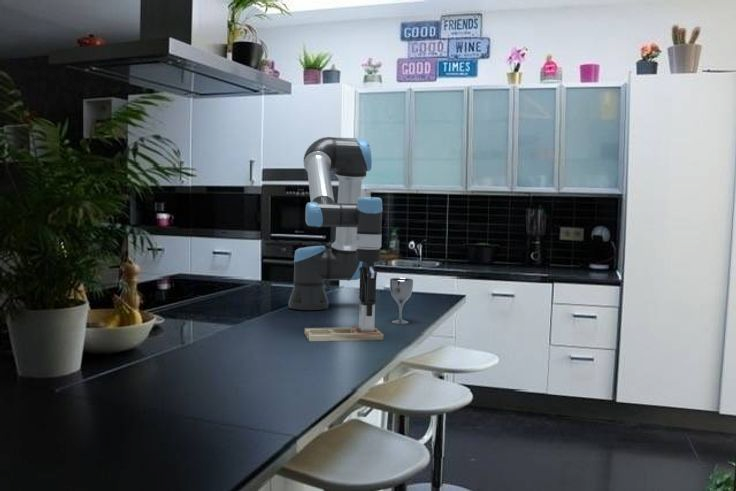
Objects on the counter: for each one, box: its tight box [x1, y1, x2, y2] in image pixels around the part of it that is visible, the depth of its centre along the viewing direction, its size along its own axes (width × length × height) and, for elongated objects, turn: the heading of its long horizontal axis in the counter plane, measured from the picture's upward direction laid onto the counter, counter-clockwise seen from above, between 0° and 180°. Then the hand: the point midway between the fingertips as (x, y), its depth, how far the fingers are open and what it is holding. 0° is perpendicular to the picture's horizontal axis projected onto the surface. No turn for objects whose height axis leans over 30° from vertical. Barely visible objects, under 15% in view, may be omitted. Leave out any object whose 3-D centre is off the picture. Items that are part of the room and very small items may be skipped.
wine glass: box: [389, 277, 414, 325], centre depth 214 cm, size 8×8×15 cm
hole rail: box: [304, 326, 384, 342], centre depth 188 cm, size 12×22×2 cm, turn 103°
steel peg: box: [358, 302, 376, 332], centre depth 189 cm, size 4×4×9 cm
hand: (366, 324), depth 189 cm, fingers closed on steel peg, 4 cm apart
